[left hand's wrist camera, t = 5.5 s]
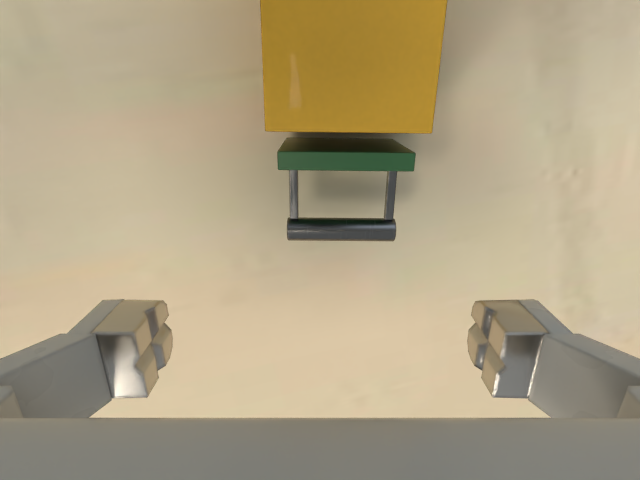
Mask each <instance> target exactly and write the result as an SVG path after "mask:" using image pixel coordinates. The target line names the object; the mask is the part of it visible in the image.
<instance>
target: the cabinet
mask: <svg viewBox="0 0 640 480" xmlns="http://www.w3.org/2000/svg"><path fill="white" fill-rule="evenodd" d="M260 6H261V33H262V59H263V85H264V112H265V131H278V132H358V133H432V128H433V120H434V111H435V102H436V93H437V85H438V76H439V67H440V59H441V50H442V41H443V33H444V24H445V15H446V7H447V0H260Z"/></svg>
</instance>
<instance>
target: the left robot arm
mask: <svg viewBox="0 0 640 480" xmlns="http://www.w3.org/2000/svg"><path fill="white" fill-rule="evenodd" d="M168 316H169V313H168V308H167V304H166V303H165V302H164V301H163V300H124V299H117V300H102V301H101V302H100V303H99V304H98V305H97V306H96V307H95V308H94V309H93V310H92V311H91V312H90V313H89V314H87V315H86V316H85V317H84V318H83V319H82V320H81V321H80V322H79V323H78V324H77V325H76V326H75V327H74V328H72V329H71V330H70V331H69V332H68V333H67V334H59V335H56V336H54V337H52V338H49V339H47V340H44V341H42V342H40V343H37V344H35V345H32V346H30V347H28V348H25V349H23V350H20V351H18V352H16V353H13V354H11V355H8V356H6V357H4V358H1V359H0V480H640V359H639V358H636V357H634V356H631V355H629V354H627V353H624V352H622V351H619V350H617V349H615V348H612V347H610V346H608V345H605V344H603V343H600V342H598V341H596V340H593V339H591V338H588V337H586V336H584V335H581V334H573V333H572V332H571V331H570V330H569V329H568V328H566V327H565V326H564V325H563V324H562V323H561V322H560V321H559V320H558V319H557V318H556V317H555V316H554V315H553V314H552V313H550V312H549V311H548V310H547V309H546V308H545V307H544V306H543V305H542V304H541V303H540V302H539V301H537V300H534V299H526V300H486V301H475V303H474V305H473V307H472V313H471V316H472V317H473V319H474V321H475V322H476V323H475V324H474V325H473V326H472V327H471V328H470V329H469V331H468V339H467V343H468V352H469V355H470V358H471V360H472V362H473V364H474V366H476V367H477V368H479V369H480V370H482V377H481V378H482V380H483V382H484V383H485V385H486V387H487V389H488V390H489V392H490V394H491V395H492V397H498V398H528V400H529V401H530V402H532V403H533V404H534V405H536V406H537V407H538V408H539V409H541V410H542V411H543V412H545V413H546V414H547V415H549V416H550V417H551V418H89V417H90V416H91V415H93V414H94V413H95V412H97V411H98V410H99V409H101V408H102V407H103V406H105V405H106V404H107V403H109V402H110V401H111V400H112V399H111V398H141V397H148V396H149V394H150V392H151V390H152V389H153V387H154V385H155V383H156V382H157V380H158V378H159V377H158V370H160V369H161V368H163V367H164V366H166V364H167V362H168V360H169V358H170V355H171V351H172V342H173V338H172V331H171V329H170V328H169V327H168V326H167V325H166V324H165V323H164V322H165V321H166V319H167V317H168Z"/></svg>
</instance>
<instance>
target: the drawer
mask: <svg viewBox="0 0 640 480" xmlns="http://www.w3.org/2000/svg"><path fill="white" fill-rule="evenodd" d="M277 153H278V170H289V183H290V217H289V218H288V220H287V239H288V240H307V241H394V240H395V236H396V222H395V219H393V213H394V201H395V190H396V178H397V171H414V165H415V155H416V154H415V152H413V151H411V150H409V149H408V148H406V147H404V146H403V145H401V144H399V143H398V142H396V141H394V140H393V139H351V138H286V140H285V141H284V143H283V144H282V146H281V147H280V149H279V150H278V152H277ZM298 170H334V171H387V183H386V196H385V209H384V218H298Z"/></svg>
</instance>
